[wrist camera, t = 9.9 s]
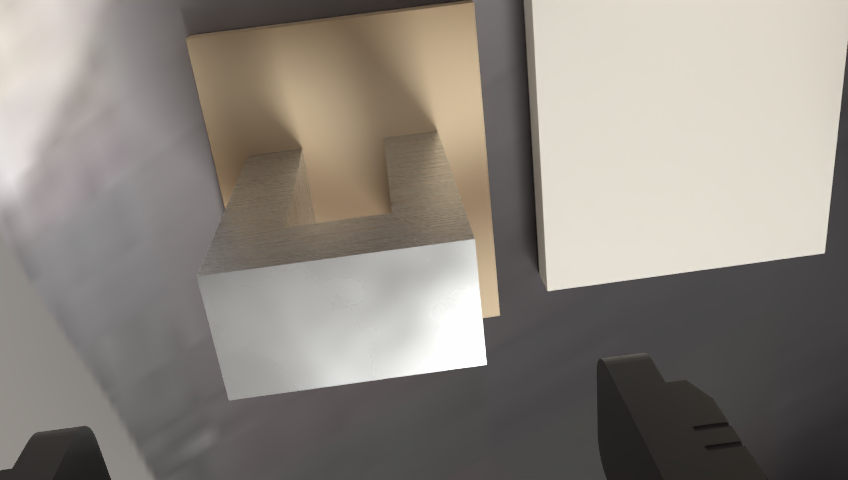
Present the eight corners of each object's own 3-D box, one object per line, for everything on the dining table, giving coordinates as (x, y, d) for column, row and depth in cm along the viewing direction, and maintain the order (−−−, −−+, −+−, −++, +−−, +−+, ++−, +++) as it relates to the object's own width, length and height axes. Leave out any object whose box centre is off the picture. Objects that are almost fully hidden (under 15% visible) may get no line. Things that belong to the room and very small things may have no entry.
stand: (506, -299, 19) (966, -908, 5) (860, -341, 20) (2340, -1041, 5) (539, 274, 26) (775, 763, 11) (804, 238, 26) (1374, 670, 11)
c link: (248, 155, 23) (196, 276, 16) (437, 130, 23) (474, 239, 16) (268, 247, 24) (228, 400, 17) (447, 223, 24) (486, 364, 17)
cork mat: (189, 35, 22) (185, 38, 21) (471, -1, 22) (474, 2, 22) (259, 339, 26) (257, 349, 25) (496, 306, 26) (499, 315, 26)
